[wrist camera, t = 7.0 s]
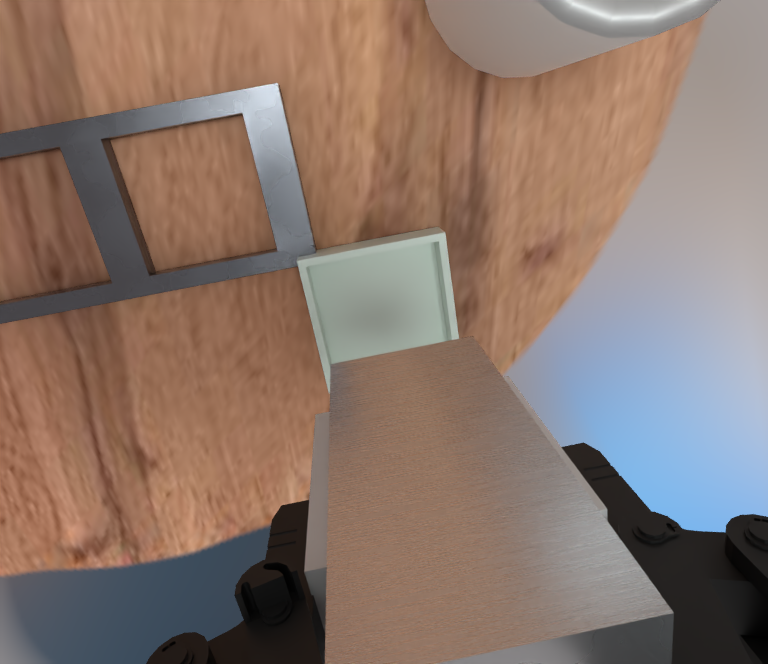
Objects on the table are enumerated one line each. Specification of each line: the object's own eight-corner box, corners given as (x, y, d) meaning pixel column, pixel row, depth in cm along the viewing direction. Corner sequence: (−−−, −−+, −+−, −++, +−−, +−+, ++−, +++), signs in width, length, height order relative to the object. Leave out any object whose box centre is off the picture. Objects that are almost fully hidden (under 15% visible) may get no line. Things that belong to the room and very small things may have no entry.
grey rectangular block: (358, 482, 19) (386, 877, 9) (330, 364, 17) (323, 687, 7) (487, 456, 19) (663, 816, 9) (472, 335, 17) (673, 613, 7)
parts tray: (329, 378, 31) (328, 393, 29) (299, 253, 28) (296, 261, 26) (454, 353, 31) (462, 366, 30) (438, 226, 29) (445, 232, 27)
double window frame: (-34, 326, 28) (-47, 332, 27) (-121, 158, 25) (-138, 159, 24) (318, 258, 29) (318, 262, 28) (279, 85, 25) (277, 82, 24)
